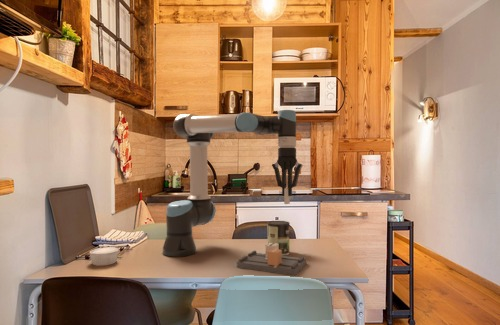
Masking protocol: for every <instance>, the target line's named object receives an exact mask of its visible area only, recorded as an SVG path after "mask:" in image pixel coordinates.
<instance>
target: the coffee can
mask: <svg viewBox="0 0 500 325" xmlns="http://www.w3.org/2000/svg"><path fill="white" fill-rule="evenodd" d="M266 225H267V244H269V243H277V244H279V249H280V250H282V256H288V255H289V254H290V222H289V221H288V220H287V221H286V220H270V221H267V223H266Z"/></svg>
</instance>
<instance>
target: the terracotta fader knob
mask: <svg viewBox="0 0 500 325" xmlns="http://www.w3.org/2000/svg"><path fill="white" fill-rule="evenodd" d="M280 263H282V250H280V249H271V250H269V251H268V265H274V266H278V265H279V264H280Z"/></svg>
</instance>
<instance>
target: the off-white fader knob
mask: <svg viewBox="0 0 500 325" xmlns="http://www.w3.org/2000/svg"><path fill="white" fill-rule="evenodd" d="M271 249H279V244H277V243H269V244H268V243H267V244H266V245H265V254H266V258H268V251H269V250H271Z"/></svg>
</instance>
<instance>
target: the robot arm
mask: <svg viewBox="0 0 500 325" xmlns="http://www.w3.org/2000/svg"><path fill="white" fill-rule="evenodd" d="M172 125H173V127H172V128H173V130H174V132H175V134H176V135H177V136H178V137H180V138H182V139H186V144H187V145H188V146H189V179H190V180H189V185H190V186H189V187H190V189H189V192H190V193H189V195H188V197H187V199H184V200H176V201H172V202H170V203H168V204H167V205H166V212H165V215H166V237H165V239H164V244H163V246H162V254H163V255H164V256H167V257H175V258H176V257H186V256H191V255H194V254H196V252H197V246H196V243H195V240H194V236H193V228H194V227H198V226H204V225H207V224H209V223H211V222H212V221H213V220H214V218H215V216H216V212H217V211H216V206H215V204H214V202H213V201H212V197H211V196H210V194H208V193H209V190H208V189H209V187H208V183H209V182H208V179H209V178H208V173H209V172H208V146H209V145H210V144H211V140H212V138H213V136H215V134H217V133H219V134H220V133H254V135H261V136H263V135H274V134H275V135H278V136H277V141H278V142H277V144H278V145H277V146H278V149H277V157H278V158H277V160H276V162H274V163H272V165H271V167H272V168H273V170H274V171H273V172H274V175H275V179H276V183H277V187H280V188H281V191H282V192H281V194H282V196H283V197H284V200H283V202H284V203H283V204H284V205H290V204H291V202H290V201H291V197H292V195H293V188H295V187H297V184H298V179H299V175H300V172H301V169H302V167H303V164H302V163H300V162H298V159H297V148H296V146H297V114H296V111H295V110H293V109H282V110H279V111H277V115H275V116H264V115H261V114H257V113H252V112H249V111H247V112H246V111H245V112H244V111H243V112H241V113H233V114H213V115H212V114H211V115H198V114H197V115H196V114H193V113H191V114H190V113H182V114H179V115H177V116H176V117H175V119H174V121H173V124H172ZM279 167H280V168H281V171H280V168H279ZM294 168H295V171H294V175H293V169H294ZM280 173H281V174H280Z"/></svg>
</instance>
